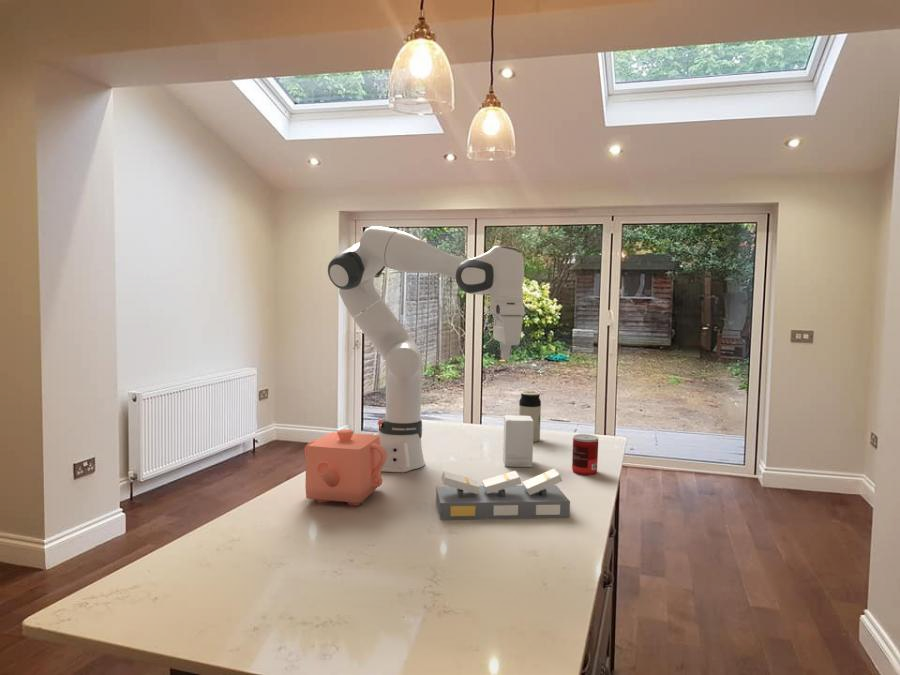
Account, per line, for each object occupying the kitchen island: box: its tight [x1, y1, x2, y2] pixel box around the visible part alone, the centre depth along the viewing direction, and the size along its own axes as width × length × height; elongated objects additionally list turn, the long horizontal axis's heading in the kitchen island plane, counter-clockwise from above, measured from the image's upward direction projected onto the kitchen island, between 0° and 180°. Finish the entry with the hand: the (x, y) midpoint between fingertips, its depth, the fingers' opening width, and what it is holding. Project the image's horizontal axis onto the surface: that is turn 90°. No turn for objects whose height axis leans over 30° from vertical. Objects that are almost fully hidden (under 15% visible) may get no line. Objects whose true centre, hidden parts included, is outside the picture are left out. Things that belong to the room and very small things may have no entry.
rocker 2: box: [481, 470, 522, 494], centre depth 160 cm, size 9×6×2 cm, turn 95°
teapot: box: [304, 428, 387, 506], centre depth 163 cm, size 25×23×18 cm
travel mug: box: [518, 390, 542, 443], centre depth 235 cm, size 8×8×18 cm
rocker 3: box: [521, 468, 563, 495], centre depth 161 cm, size 9×6×2 cm, turn 95°
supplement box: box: [502, 414, 534, 468], centre depth 203 cm, size 9×9×15 cm
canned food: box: [571, 433, 599, 476], centre depth 195 cm, size 8×8×11 cm
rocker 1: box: [441, 470, 480, 494], centre depth 159 cm, size 9×6×2 cm, turn 96°
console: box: [435, 484, 571, 520], centre depth 160 cm, size 32×13×6 cm, turn 96°
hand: (505, 359), depth 168 cm, fingers closed
